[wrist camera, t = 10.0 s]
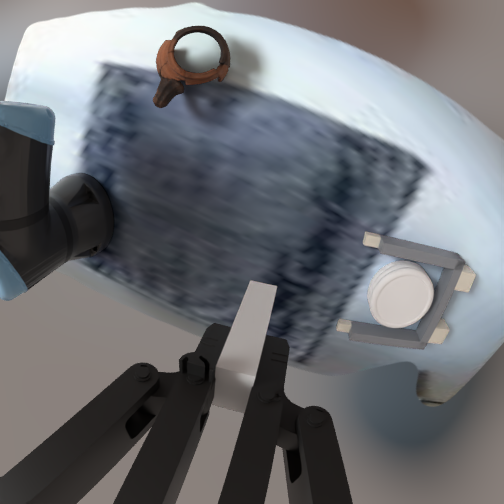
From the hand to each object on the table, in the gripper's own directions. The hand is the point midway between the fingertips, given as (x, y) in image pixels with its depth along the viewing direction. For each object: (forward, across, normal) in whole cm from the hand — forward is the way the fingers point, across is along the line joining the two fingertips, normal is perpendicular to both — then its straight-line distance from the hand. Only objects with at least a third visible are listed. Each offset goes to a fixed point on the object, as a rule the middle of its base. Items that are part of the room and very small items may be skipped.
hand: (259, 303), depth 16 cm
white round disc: (+23, +19, -9) cm, 31 cm away
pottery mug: (+24, -15, +16) cm, 32 cm away
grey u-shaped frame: (+23, +20, -9) cm, 32 cm away
